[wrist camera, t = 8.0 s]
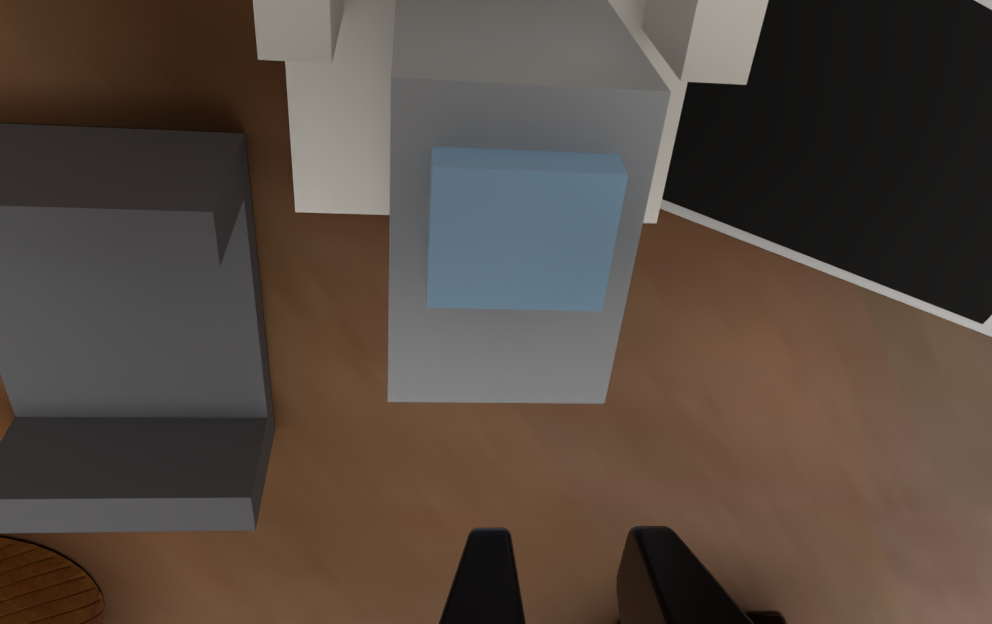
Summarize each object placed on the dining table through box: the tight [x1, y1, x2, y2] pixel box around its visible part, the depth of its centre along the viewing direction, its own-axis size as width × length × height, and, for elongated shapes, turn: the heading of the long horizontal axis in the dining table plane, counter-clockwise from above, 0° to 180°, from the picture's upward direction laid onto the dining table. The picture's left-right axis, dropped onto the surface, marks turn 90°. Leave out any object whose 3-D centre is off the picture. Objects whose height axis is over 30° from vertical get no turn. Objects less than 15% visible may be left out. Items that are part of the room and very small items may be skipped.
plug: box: [388, 0, 671, 404], centre depth 15 cm, size 6×4×6 cm, turn 175°
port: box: [253, 0, 769, 223], centre depth 15 cm, size 10×8×4 cm
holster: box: [0, 123, 275, 533], centre depth 19 cm, size 9×6×4 cm
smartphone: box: [660, 0, 992, 337], centre depth 20 cm, size 7×16×1 cm, turn 66°
